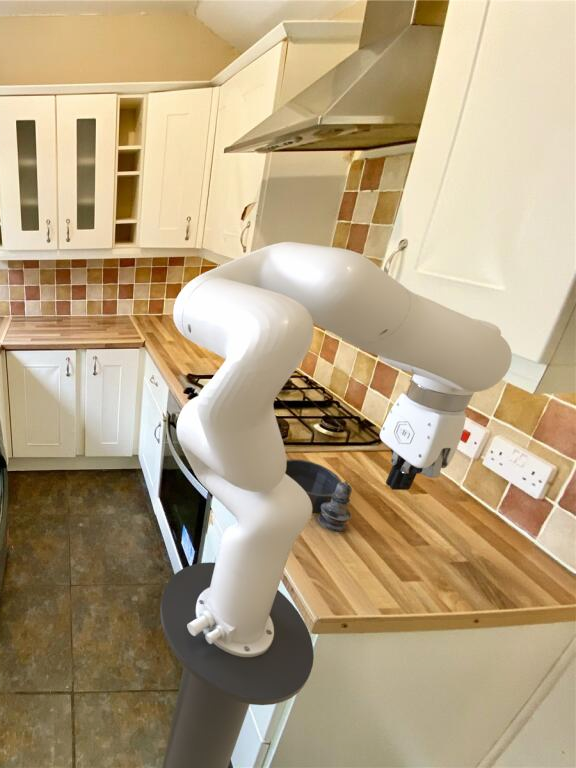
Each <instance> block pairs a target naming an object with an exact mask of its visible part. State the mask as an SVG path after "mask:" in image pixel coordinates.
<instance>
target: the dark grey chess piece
mask: <svg viewBox="0 0 576 768" xmlns="http://www.w3.org/2000/svg"><path fill="white" fill-rule="evenodd" d="M352 491H353V488H352V486H351V485H350V484H349V482H348V480H346V481H344V482H342V483H338V484H337V487H336V489H335V492H334V493H332V494H331V496H332V499H331V502H325V503H323V504H322V505H321V511H322V513H321V514H320V515H318V518H317V520H318V522H319V524H320V525H321V526H322V527H324V528H325V529H327V530H329V531H332V532H338V533H339V532H343V531H344V530H345V528H346V526H345V523H347V522H348V521H349V520H351V518H352V514H351V512H350V510H348V508H347V506H348V504H350V502H351V499H350V497H351V494H352Z"/></svg>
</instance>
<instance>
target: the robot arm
mask: <svg viewBox="0 0 576 768" xmlns="http://www.w3.org/2000/svg"><path fill="white" fill-rule="evenodd" d="M172 319H173V322H174V326H175V328H176V329H177V331H178V332H179V333H180V334H181V335H182V336H183V337H184V338H185V339H187V340H188V341H190V342H192V343H193V344H196V345H198V346H199V347H201V348H204V349H205V350H207V351H209V352H211V353H213V354H215V355H217V356H219V357H220V358H223V359H225V360H224V361H223V363H222V365H221V366H220V367H219V368H218V370H217V371H216V372H215V374H214V375H213V377H212V378H211V379H210V380H209V381H208V382H207V383H206V384H205V385H204V386H203V387H202V388H201V390H200V392H199V393H198V395H197V396H195V397H193V398H191V399H190V400H188V401H187V402H186V404H185V405H183V407H182V409H181V410H180V412H179V414H178V417H177V421H176V437H177V441H178V443H179V445H180V447H181V449H182V451H183V454H184V455H185V458H186V460H187V461H188V463H189V465H190V468H191V469H192V471H193V473H194V475H195V476H196V478H197V480H198V481H199V482H200V484H201V485H202V486H203V488H204V489H206V490H207V491H208V492H209V493H210V494H211V495H212V496H213V497H214V498H215V499H216V500H217V501H218V502H219V503H220V504H222V506H224V507H225V509H226V510H227V511H228V512H229V513H231V515H232V516H233V517H234V518H235V520H236V522H234V523H231V524H230V525H229V526H228V527H226V528H225V529H224V531H223V532H222V534H221V537H220V540H219V545H218V551H217V555H216V558H215V562H214V563H215V568H214V572H213V576H212V581H211V585H210V587H209V588H207V589H206V590H204V591H203V592H202V593H201V594H200V596H199V598H198V600H197V604H196V618H197V619H195V620H193V621H192V622H190V623H189V624H187V628H188V630H189V632H190V633H191V634H192V635H193V636H196V635H197V634H199V633H200V632H202V631H203V632H204V634H205V635H206V636H205V638H206V640H207V642H208V643H209V644H212V643H214V644H215V645H216V646H218V647H219V648H220V649H222V650H224V651H226V652H228V653H230V654H233V655H236V656H240V657H255V656H258V655H261V654H263V653H264V652H266V651H267V650H268V648H269V647H270V646H271V643H272V641H273V637H274V626H273V623H272V620H271V617H270V615H269V614H270V611H271V608H272V605H273V602H274V599H275V596H276V593H277V590H279V587H280V583H281V580H282V578H283V574H284V571H285V568H286V565H287V562H288V559H289V556H290V554H291V551H292V550H293V547H294V546H295V544H296V542H297V541H298V539H299V537H300V536H301V534H302V532H303V531H304V530H305V528H306V527H307V525H308V523H309V522H310V520H311V517H312V515H313V512H312V503H311V500H310V498H309V496H308V495H307V493H306V492H305V491H304V489H303V488H302V487H301V486H300V485H299V484H298V483H297V482H296V481H294V480H293V479H292V478H291V477H289V476H288V475H287V474H285V472H286V467H287V460H288V459H287V454H286V453H287V452H286V448H285V444H284V441H283V438H282V434H281V431H280V426H279V423H278V420H277V416H276V412H275V407H274V403H275V401H276V398H277V397H278V395H279V394H280V392H281V390H282V389H283V388H284V386H285V385H286V384H287V383H288V381H289V379H290V378H291V377H292V375H293V374H294V372H296V370H297V369H298V367H300V365H301V363H302V362H303V361H304V359H305V358H306V356H307V355H308V352H309V350H310V349H311V346H312V344H313V343H312V342H313V339H314V333H315V332H314V331H315V327H314V324H315V325H316V326H318V327H320V328H321V329H323V330H325V331H327V332H329V333H331V334H333V335H335V336H337V337H339V338H341V339H342V340H344V341H346V342H347V343H349V344H351V345H352V346H354V347H356V348H358V349H361V350H363V351H365V352H368V353H370V354H372V355H375V356H378V357H379V358H380V360H382V361H383V362H384V363H385V364H387V365H389V366H392V367H394V368H396V369H399V370H402V371H404V372H407V373H410V374H413V376H411V377H410V378H409V386H408V388H407V389H406V391H403V392H402V393H401V394H400V395H399V396H398V398H397V399H396V400H395V402H394V403H393V405H392V407H391V409H390V410H389V412H388V414H387V416H386V418H385V420H384V422H383V424H382V426H381V429H380V431H379V438H380V440H381V442H383V444H384V445H386V446H387V447H388V448H389V449H390V451H391V459H390V464H392V466H391V469H390V471H389V473H388V476H387V478H386V481H385V485H387V486H388V487H389V488H390V489H391V490H394V491H400V490H401V491H408V490H410V489H411V487H412V485H413V482H414V480H415V478H416V477H417V474H419V475H420V474H421V475H423V476H426V477H427V478H434V479H435V478H440V476H441V471H442V469H446V468H447V467H448V466H449V465H450V463H451V462H452V460H453V458H454V456H455V454H456V452H457V449H458V447H459V444H460V441H461V439H462V435H463V432H464V428H465V424H466V419H467V414H466V413H465V412H466V410H467V408H468V406H469V404H470V401H471V400H472V397H473V396H474V394H475V393H479V392H483V391H486V390H489V389H491V388H493V387H494V386H496V385H497V384H498V383H500V382H501V381H502V380H503V379H504V378H505V376H506V375H507V374H508V372H509V369H510V367H511V364H512V361H513V360H512V359H513V355H512V349H511V346H510V344H509V343H508V341H507V340H506V339H505V338H504V337H503V336H502V332H501V329H500V327H498V326H497V325H496V324H494V323H492V322H489V321H485V320H481V319H477V318H472V317H470V316H467V315H465V314H464V313H463V314H462V313H460V312H458V311H455V310H453V309H451V308H449V307H446V306H444V305H442V304H440V303H438V302H436V301H434V300H431V299H429V298H428V297H425V296H422V295H420V294H417V293H415V292H413V291H411V290H409V289H408V288H407V287H405V286H404V285H403V284H401V283H400V282H399V281H397V280H396V279H395V278H394V277H393V276H391V275H389V274H388V273H387V271H385V270H384V269H382V268H381V267H380V266H378V265H377V264H376V263H374V262H373V261H372V260H371V259H369V257H368V258H367V257H366V256H364V255H363V254H361V253H359V252H356V251H354V250H350V249H348V248H341V247H335V246H327V245H317V244H312V243H303V242H296V241H282V242H278V243H273V244H270V245H267V246H264V247H261V248H259V249H256V250H254V251H251V252H248V253H246V254H245V255H242V256H239V257H238V258H235V259H232V260H230V261H228V262H226V263H224V264H221V265H220V266H219V265H218V266H217V267H214V268H211V269H210V270H208V271H205V272H203V273H201V274H199V275H198V276H196V277H195V278H193V279H192V280H190V281H189V282H187V284H186V285H184V286H183V288H182V289H181V291H180V292H179V293H178V295H177V296H176V298H175V301H174V304H173V311H172Z"/></svg>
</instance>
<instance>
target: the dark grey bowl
mask: <svg viewBox="0 0 576 768" xmlns="http://www.w3.org/2000/svg"><path fill="white" fill-rule="evenodd" d="M285 474H287V475H288V476H289V477H291V478H292V479H293V480H294V481H296V482H297V483H298V484H299V485H300V486H301V487H302V488H303V489H304V491H305V492H306V493H307V495H308V496H309V498H310V500H311V503H312V513H317V514H318V513H319V514H320V513H321V514H322V511H321V505H322V504H323V503H325V502H331V499H332V496H331V494H332V493H334V492H335V489H336V487H337V484H338V483H343V481H342V479H340V477H339V476H338V475H337V474H336V473H334V472H333V471H332V470H330V469H329V468H327V467H325V466H323V465H321V464H318V463H315V462H314V461H309V460H305V459H294V458H291V459H287V467H286V472H285Z"/></svg>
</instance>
